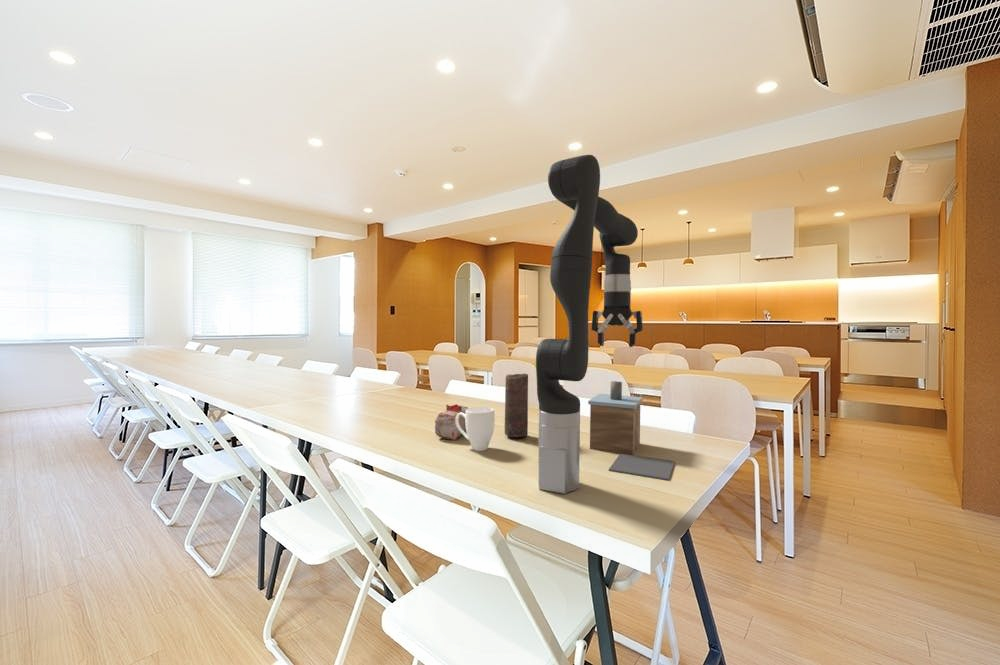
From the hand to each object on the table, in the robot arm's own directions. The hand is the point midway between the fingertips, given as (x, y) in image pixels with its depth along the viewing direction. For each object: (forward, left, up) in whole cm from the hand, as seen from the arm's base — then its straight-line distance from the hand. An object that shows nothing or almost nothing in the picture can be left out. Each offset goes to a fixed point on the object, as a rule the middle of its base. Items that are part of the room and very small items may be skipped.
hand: (616, 346), depth 128 cm
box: (0, 0, -30) cm, 30 cm away
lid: (0, 0, -18) cm, 18 cm away
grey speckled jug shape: (-12, +49, -30) cm, 59 cm away
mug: (-21, +36, -30) cm, 51 cm away
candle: (-5, +30, -30) cm, 42 cm away
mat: (-14, -10, -30) cm, 34 cm away
